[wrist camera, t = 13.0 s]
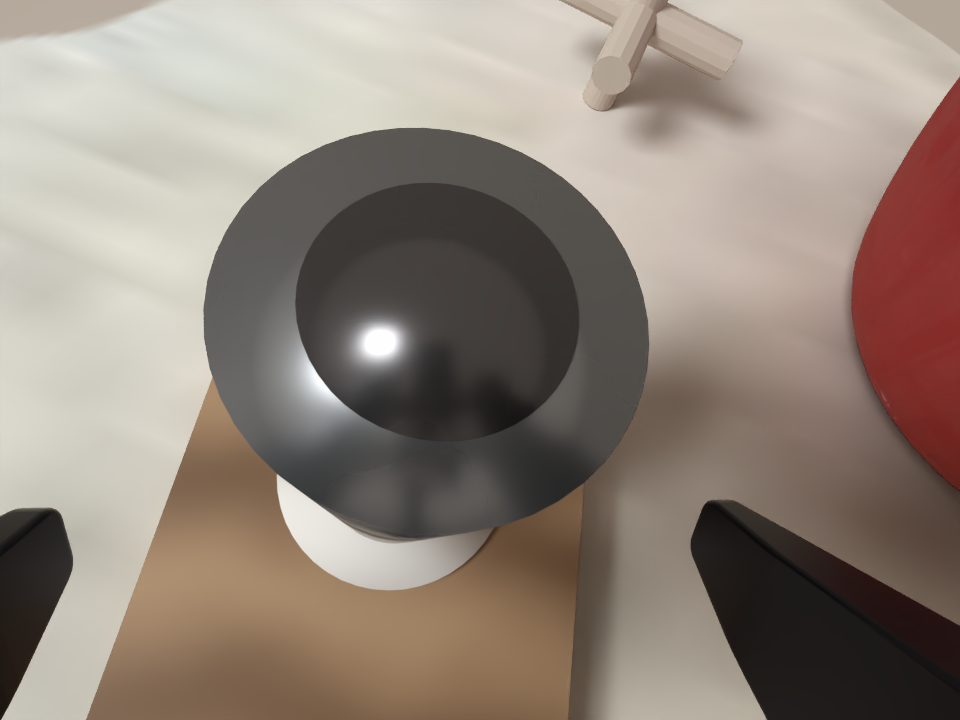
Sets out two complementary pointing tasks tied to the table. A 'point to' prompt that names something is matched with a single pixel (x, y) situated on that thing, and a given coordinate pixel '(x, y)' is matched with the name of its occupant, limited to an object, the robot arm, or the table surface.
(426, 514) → the steel hub
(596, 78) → the pipe connector
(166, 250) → the table surface
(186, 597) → the mounting plate
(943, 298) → the mixing bowl
